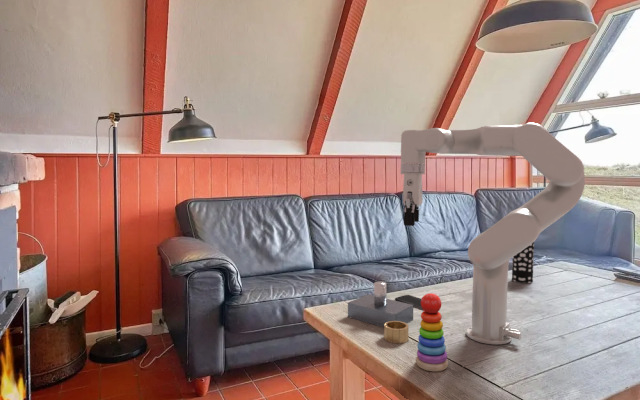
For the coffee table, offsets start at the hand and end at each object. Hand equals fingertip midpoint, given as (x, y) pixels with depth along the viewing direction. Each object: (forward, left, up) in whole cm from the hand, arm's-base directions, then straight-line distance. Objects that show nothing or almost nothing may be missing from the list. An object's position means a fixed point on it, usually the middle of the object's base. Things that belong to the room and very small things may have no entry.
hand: (411, 223), depth 138 cm
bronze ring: (-3, +14, -33) cm, 36 cm away
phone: (+9, -19, -33) cm, 39 cm away
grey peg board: (+10, +3, -33) cm, 34 cm away
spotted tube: (-11, -77, -33) cm, 84 cm away
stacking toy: (-19, +23, -33) cm, 44 cm away
